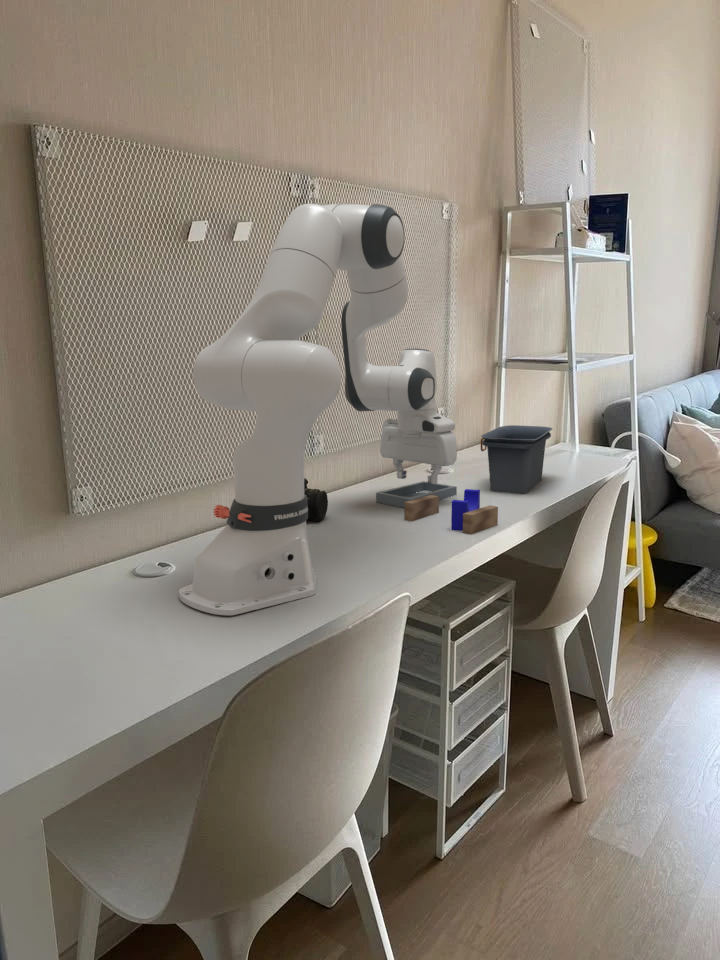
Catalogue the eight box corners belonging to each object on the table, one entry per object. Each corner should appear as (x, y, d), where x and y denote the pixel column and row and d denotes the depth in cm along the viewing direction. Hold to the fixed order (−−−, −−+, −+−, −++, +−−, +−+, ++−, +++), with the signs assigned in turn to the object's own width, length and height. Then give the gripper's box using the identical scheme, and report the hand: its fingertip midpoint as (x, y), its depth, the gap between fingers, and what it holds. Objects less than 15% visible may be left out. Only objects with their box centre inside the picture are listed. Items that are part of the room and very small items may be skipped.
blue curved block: (458, 516, 160) (459, 488, 159) (479, 517, 159) (480, 489, 157) (444, 530, 149) (444, 500, 148) (466, 532, 148) (466, 502, 147)
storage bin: (533, 500, 172) (535, 438, 170) (468, 494, 179) (469, 435, 176) (553, 482, 191) (555, 427, 188) (494, 478, 198) (495, 424, 195)
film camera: (326, 530, 150) (325, 481, 148) (264, 531, 150) (262, 482, 148) (329, 509, 168) (328, 465, 166) (274, 510, 168) (272, 466, 166)
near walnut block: (471, 535, 145) (471, 515, 145) (462, 533, 147) (463, 513, 146) (497, 526, 152) (497, 506, 151) (489, 524, 153) (489, 505, 152)
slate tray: (409, 510, 165) (409, 499, 164) (376, 503, 172) (376, 492, 171) (456, 497, 177) (456, 486, 176) (423, 491, 184) (423, 481, 183)
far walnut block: (411, 522, 156) (411, 503, 155) (404, 520, 157) (404, 502, 156) (438, 514, 162) (438, 496, 161) (431, 512, 163) (431, 494, 163)
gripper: (373, 419, 176) (374, 477, 178) (443, 426, 162) (443, 488, 164) (391, 416, 180) (392, 473, 183) (461, 423, 166) (460, 484, 169)
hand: (416, 480), depth 173 cm, fingers open, 8 cm apart
